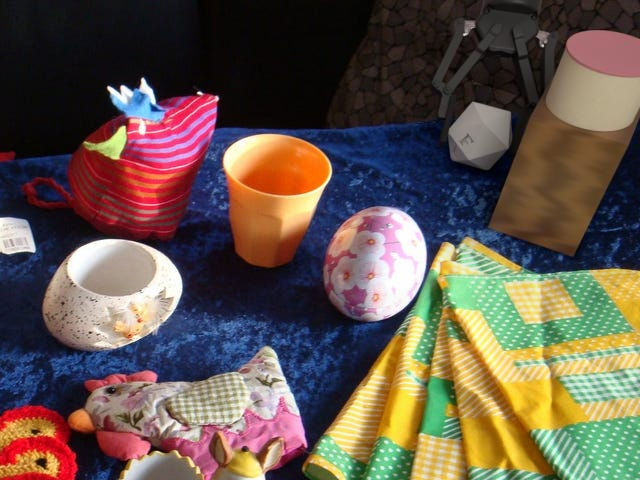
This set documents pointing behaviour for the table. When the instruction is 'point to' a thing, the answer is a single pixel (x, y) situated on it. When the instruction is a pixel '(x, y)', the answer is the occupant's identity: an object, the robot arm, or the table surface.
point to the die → (480, 136)
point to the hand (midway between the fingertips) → (477, 149)
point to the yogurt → (597, 81)
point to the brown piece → (558, 180)
